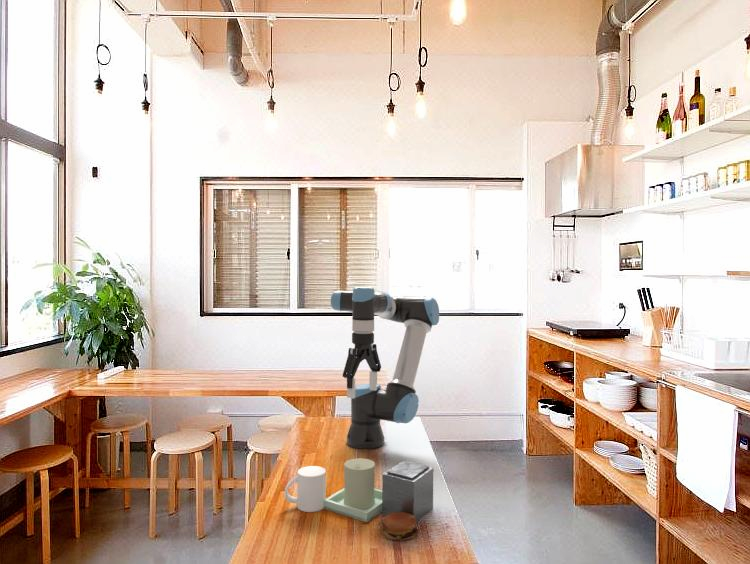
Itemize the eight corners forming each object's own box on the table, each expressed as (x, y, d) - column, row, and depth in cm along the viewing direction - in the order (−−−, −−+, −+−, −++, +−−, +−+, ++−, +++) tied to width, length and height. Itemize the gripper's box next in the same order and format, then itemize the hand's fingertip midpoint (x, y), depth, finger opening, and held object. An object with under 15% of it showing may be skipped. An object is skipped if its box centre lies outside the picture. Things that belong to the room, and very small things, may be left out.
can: (339, 508, 149) (340, 466, 149) (348, 494, 158) (348, 455, 158) (371, 511, 147) (371, 469, 147) (377, 497, 156) (378, 457, 156)
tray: (353, 490, 163) (353, 482, 163) (394, 502, 155) (394, 493, 155) (323, 508, 150) (323, 500, 150) (366, 522, 142) (366, 513, 142)
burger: (374, 530, 138) (374, 513, 138) (402, 521, 143) (402, 505, 143) (396, 547, 130) (396, 529, 130) (424, 537, 135) (425, 519, 135)
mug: (326, 475, 148) (283, 477, 146) (326, 511, 148) (283, 513, 147) (325, 465, 156) (285, 466, 155) (325, 498, 156) (284, 500, 155)
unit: (403, 499, 156) (404, 458, 156) (433, 508, 151) (434, 465, 151) (382, 516, 146) (382, 471, 146) (413, 525, 141) (413, 479, 140)
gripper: (373, 328, 190) (372, 385, 190) (332, 334, 169) (331, 399, 169) (391, 329, 186) (390, 388, 186) (351, 336, 165) (350, 403, 165)
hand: (362, 393), depth 178 cm, fingers open, 13 cm apart
